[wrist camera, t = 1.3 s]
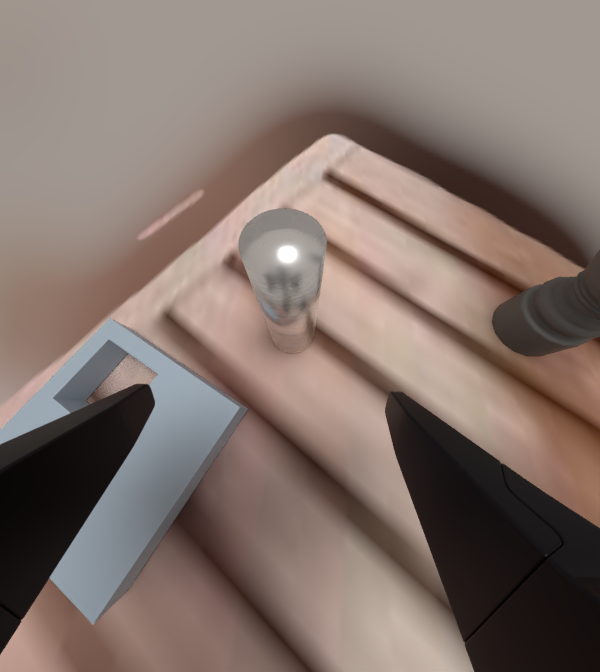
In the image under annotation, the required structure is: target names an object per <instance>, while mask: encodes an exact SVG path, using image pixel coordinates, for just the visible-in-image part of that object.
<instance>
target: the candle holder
mask: <svg viewBox="0 0 600 672" xmlns="http://www.w3.org/2000/svg"><path fill="white" fill-rule="evenodd" d="M492 323H493V326H494V329H495V333H496V334H497V335H498V337H499V338H500V339H501V341H502V342H503V343H504V344H505V345H506V346H508V347H509V348H510V349H512V350H513V351H515V352H517V353H520V354H523V355H526V356H542V355H546V354H550V353H554V352H558V351H561V350H565V349H569V348H573V347H577V346H579V345H581V344H583V343H586V342H588V341H589V340H590V339H594V338H597V337H599V336H600V250H599V251H598V252H597V254H596V255H595V256H594V258H593V259H592V260H591V262H590V263H589V265H588V266H587V267H586V269H585V270H584V271H582V272H580V273H579V274H578V275H577V277H557V278H555V279H552V280H550V281H547V282H545V283H544V284H543V285H537V286H534V287H532V288H529V289H527V290H525V291H524V292H522V293H520V294H518V295H517V296H515V297H513V298H511V299H510V300H508V301H506V302H504V303H503V304H501V305H500V306H499V307H498V308H497V309H496V310H495V312H494V315H493V321H492Z"/></svg>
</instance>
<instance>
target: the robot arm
mask: <svg viewBox="0 0 600 672" xmlns="http://www.w3.org/2000/svg"><path fill="white" fill-rule="evenodd" d="M154 407H155V399H154V396H153V393H152V390H151V387H150V386H149V385H148V384H135V385H133V386H130V387H128V388H126V389H124V390H121V391H119V392H117V393H115V394H112V395H110V396H108V397H106V398H103V399H101V400H99V401H97V402H94V403H92V404H90V405H88V406H85V407H83V408H81V409H79V410H76V411H74V412H72V413H70V414H67V415H65V416H63V417H61V418H58V419H56V420H54V421H52V422H49V423H47V424H45V425H43V426H40V427H38V428H36V429H34V430H31V431H29V432H27V433H25V434H22V435H20V436H18V437H16V438H13V439H11V440H9V441H7V442H4V443H2V444H0V654H1V653H2V651H3V650H4V648H5V646H6V645H7V643H8V642H9V640H10V639H11V637H12V636H13V634H14V632H15V631H16V629H17V628H18V626H19V625H20V623H21V620H22V619H23V618H24V616H25V615H26V613H27V612H28V610H29V609H30V607H31V606H32V604H33V603H34V601H35V599H36V598H37V596H38V595H39V593H40V592H41V590H42V589H43V587H44V585H45V584H46V582H47V581H48V579H49V578H50V576H51V575H52V573H53V571H54V570H55V568H56V567H57V565H58V564H59V562H60V561H61V559H62V557H63V556H64V554H65V553H66V551H67V550H68V548H69V547H70V545H71V543H72V542H73V540H74V539H75V537H76V536H77V534H78V533H79V531H80V529H81V528H82V526H83V525H84V523H85V522H86V520H87V519H88V517H89V515H90V514H91V512H92V511H93V509H94V508H95V506H96V505H97V503H98V501H99V500H100V498H101V497H102V495H103V494H104V492H105V491H106V489H107V487H108V486H109V484H110V483H111V481H112V480H113V478H114V477H115V475H116V473H117V472H118V470H119V469H120V467H121V466H122V464H123V463H124V461H125V460H126V458H127V456H128V455H129V453H130V452H131V450H132V448H133V447H134V445H135V443H136V441H137V440H138V438H139V436H140V434H141V432H142V430H143V428H144V426H145V424H146V422H147V421H148V419H149V417H150V415H151V413H152V411H153V409H154ZM385 414H386V418H387V422H388V426H389V431H390V435H391V439H392V443H393V447H394V451H395V454H396V457H397V460H398V463H399V466H400V469H401V471H402V474H403V477H404V479H405V482H406V485H407V488H408V490H409V493H410V496H411V499H412V501H413V504H414V507H415V510H416V512H417V515H418V518H419V521H420V523H421V526H422V529H423V532H424V534H425V537H426V540H427V543H428V545H429V548H430V551H431V553H432V556H433V559H434V562H435V564H436V567H437V570H438V573H439V575H440V578H441V581H442V584H443V586H444V589H445V592H446V595H447V597H448V600H449V603H450V606H451V608H452V611H453V614H454V617H455V619H456V622H457V625H458V628H459V630H460V633H461V636H462V638H463V641H464V642H465V647H466V650H467V653H468V656H469V658H470V661H471V664H472V666H473V669H474V672H600V528H599V527H597V526H596V525H594V524H593V523H591V522H589V521H588V520H586V519H585V518H583V517H582V516H580V515H579V514H577V513H575V512H574V511H572V510H571V509H569V508H568V507H566V506H565V505H563V504H562V503H560V502H559V501H557V500H555V499H554V498H552V497H551V496H549V495H548V494H546V493H545V492H543V491H542V490H540V489H539V488H537V487H536V486H534V485H533V484H532V483H530V482H529V481H527V480H526V479H524V478H523V477H521V476H520V475H519V474H517V473H516V472H514V471H513V470H511V469H510V468H509V467H507V466H506V465H504V464H501V463H500V461H499V460H497V459H496V458H494V457H493V456H492V455H490V454H489V453H487V452H486V451H485V450H483V449H482V448H480V447H479V446H478V445H476V444H475V443H473V442H472V441H471V440H469V439H468V438H466V437H465V436H463V435H462V434H461V433H459V432H458V431H456V430H455V429H454V428H452V427H451V426H449V425H448V424H447V423H445V422H444V421H442V420H441V419H440V418H438V417H437V416H435V415H434V414H432V413H431V412H430V411H428V410H427V409H425V408H424V407H423V406H421V405H420V404H418V403H417V402H416V401H414V400H413V399H411V398H410V397H409V396H407V395H406V394H404V393H403V392H400V391H391V392H389V394H388V399H387V403H386V408H385Z"/></svg>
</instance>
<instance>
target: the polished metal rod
mask: <svg viewBox="0 0 600 672" xmlns="http://www.w3.org/2000/svg"><path fill="white" fill-rule="evenodd" d="M326 244H327V241H326V235H325V232H324V230H323V228H322V226H321V225H320V224H319V222H318V221H317V220H316V219H314V218H313V217H312V216H310V215H308V214H306V213H304V212H302V211H299V210H295V209H286V208H284V209H274V210H269V211H266V212H264V213H261V214H259V215H258V216H256V217H254V218H253V219H252V220H251V221H249V222H248V223H247V225H246V226H245V227H244V229H243V230H242V232H241V235H240V238H239V252H240V255H241V258H242V261H243V263H244V266H245V268H246V271H247V274H248V276H249V279H250V282H251V284H252V287H253V289H254V292H255V295H256V297H257V300H258V303H259V305H260V308H261V311H262V313H263V316H264V318H265V321H266V324H267V326H268V329H269V332H270V334H271V337H272V340H273V342H274V344H275V345H276V347H277V348H279V349H280V350H281V351H283V352H286V353H291V354H295V353H300V352H302V351H304V350H306V349H307V348H308V347H309V346H310V345H311V343H312V341H313V338H314V332H315V325H316V318H317V310H318V303H319V296H320V289H321V281H322V274H323V267H324V260H325V252H326Z"/></svg>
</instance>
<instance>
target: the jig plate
mask: <svg viewBox="0 0 600 672" xmlns="http://www.w3.org/2000/svg"><path fill="white" fill-rule="evenodd" d="M128 353H129V354H130V355H132V356H133V357H135V358H136V359H137V360H139V361H140V362H142V363H143V364H144V365H146V366H147V367H149V368H150V369H151V370H153V371H154V372H156V373H157V374H158V375H157V376H156V377H155V379H154V380H153V381H152V382H151V383H150V385H149V386H150V387H151V390H152V393H153V396H154V399H155V407H154V409H153V411H152V413H151V415H150V417H149V419H148V421H147V422H146V424H145V426H144V428H143V430H142V432H141V434H140V436H139V438H138V440H137V441H136V443H135V445H134V447H133V448H132V450H131V452H130V453H129V455H128V456H127V458H126V460H125V461H124V463H123V464H122V466H121V467H120V469H119V470H118V472H117V473H116V475H115V477H114V478H113V480H112V481H111V483H110V484H109V486H108V487H107V489H106V491H105V492H104V494H103V495H102V497H101V498H100V500H99V501H98V503H97V505H96V506H95V508H94V509H93V511H92V512H91V514H90V515H89V517H88V519H87V520H86V522H85V523H84V525H83V526H82V528H81V529H80V531H79V533H78V534H77V536H76V537H75V539H74V540H73V542H72V543H71V545H70V547H69V548H68V550H67V551H66V553H65V554H64V556H63V557H62V559H61V561H60V562H59V564H58V565H57V567H56V568H55V570H54V571H53V573H52V575H51V576H50V579H51V580H52V581H53V582H54V583H55V585H56V586H57V587H58V588H59V589H60V590H61V591H62V592H63V593H64V594H65V595H66V596H67V597H68V598H69V600H70V601H71V602H72V603H73V604H74V605H75V606H76V607H77V608H78V609H79V610H80V611H81V612H82V614H83V615H84V616H85V617H86V618H87V619H88V620H89V621H90V622H91V623H92V624H94V623H95V622H96V621H97V620H98V619H99V618H100V617H101V616H102V615H103V614H104V613H105V612H106V611H107V610H108V609H109V608H110V607H111V606H112V605H113V604H114V603H115V602H117V601H118V600H119V599H120V598H121V597H122V596H123V595H124V594H125V593H126V592H127V591H128V589H129V588H130V586H131V585H132V583H133V582H134V580H135V579H136V577H137V576H138V574H139V573H140V571H141V570H142V568H143V567H144V565H145V564H146V562H147V561H148V559H149V558H150V556H151V555H152V553H153V552H154V550H155V549H156V547H157V546H158V544H159V543H160V541H161V540H162V538H163V537H164V535H165V534H166V532H167V531H168V529H169V528H170V526H171V525H172V523H173V522H174V520H175V519H176V517H177V516H178V514H179V513H180V511H181V510H182V508H183V507H184V505H185V504H186V502H187V500H188V499H189V497H190V496H191V494H192V493H193V491H194V490H195V488H196V487H197V485H198V484H199V482H200V481H201V479H202V478H203V476H204V475H205V473H206V472H207V470H208V469H209V467H210V466H211V464H212V463H213V461H214V460H215V458H216V457H217V455H218V454H219V452H220V451H221V449H222V448H223V446H224V445H225V443H226V442H227V440H228V439H229V437H230V436H231V434H232V433H233V431H234V430H235V428H236V427H237V425H238V424H239V422H240V421H241V419H242V418H243V416H244V415H245V413H246V412H247V410H248V408H246V407H245V406H243V405H242V404H240V403H239V402H237V401H236V400H234V399H233V398H232V397H230V396H229V395H227V394H226V393H224V392H223V391H221V390H220V389H218V388H217V387H215V386H214V385H213V384H211V383H210V382H208V381H207V380H205V379H204V378H202V377H201V376H199V375H198V374H196V373H195V372H194V371H192V370H191V369H189V368H188V367H186V366H185V365H183V364H182V363H180V362H179V361H177V360H176V359H175V358H173V357H172V356H170V355H169V354H167V353H166V352H164V351H163V350H161V349H160V348H158V347H157V346H156V345H154V344H153V343H151V342H150V341H148V340H147V339H145V338H144V337H142V336H141V335H139V334H138V333H137V332H135V331H134V330H132V329H130V328H128V327H126V326H124V325H122V324H121V323H119V322H117V321H115V320H113V319H111V318H110V319H109V320H108V321H107V322H106V323H105V324H104V325H103V326H102V327H101V328H100V329H99V330H98V331H97V332H96V333H95V334H94V335H93V336H92V337H91V338H90V339H89V340H88V341H87V342H86V343H85V344H84V345H83V346H82V347H81V348H80V349H79V350H78V351H77V352H76V353H75V354H74V355H73V356H72V357H71V358H70V359H69V360H68V361H67V362H66V363H65V364H64V365H63V366H62V368H61V369H60V370H59V371H58V372H57V373H56V374H55V375H54V376H53V377H52V378H51V379H50V380H49V381H48V382H47V383H46V384H45V385H44V386H43V387H42V388H41V389H40V390H39V391H38V392H37V393H36V394H35V395H34V396H33V397H32V398H31V399H30V400H29V401H28V402H27V403H26V404H25V405H24V406H23V407H22V408H21V409H20V410H19V411H18V412H17V413H16V414H15V415H14V416H13V417H12V418H11V419H10V420H9V422H8V423H7V424H6V425H5V426H4V427H3V428H2V429H1V430H0V444H2V443H4V442H7V441H9V440H11V439H13V438H16V437H18V436H20V435H22V434H25V433H27V432H29V431H31V430H34V429H36V428H38V427H40V426H43V425H45V424H47V423H49V422H52V421H54V420H56V419H58V418H61V417H63V416H65V415H67V414H70V413H72V412H74V411H76V410H79V409H81V408H83V407H85V406H88V405H90V404H89V403H88V402H86V400H87V399H88V397H89V396H90V395H91V394H92V393H93V392H94V391H95V390H96V389H97V387H98V386H99V385H100V384H101V383H102V382H103V381H104V380H105V379H106V378H107V376H108V375H109V374H110V373H111V372H112V371H113V370H114V369H115V368H116V366H117V365H118V364H119V363H120V362H121V361H122V360H123V359H124V358H125V356H126V355H127V354H128Z"/></svg>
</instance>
